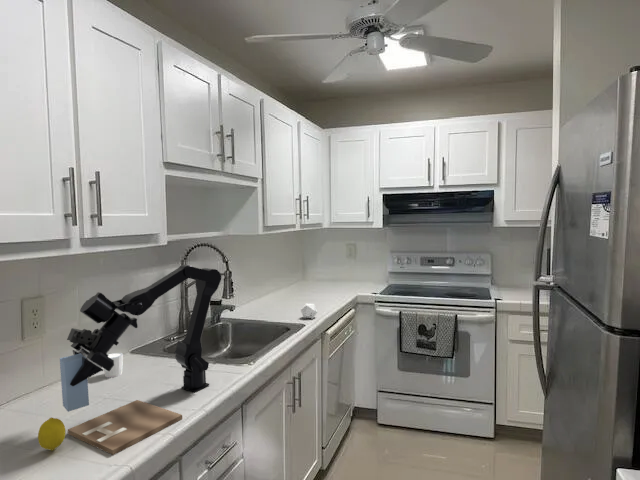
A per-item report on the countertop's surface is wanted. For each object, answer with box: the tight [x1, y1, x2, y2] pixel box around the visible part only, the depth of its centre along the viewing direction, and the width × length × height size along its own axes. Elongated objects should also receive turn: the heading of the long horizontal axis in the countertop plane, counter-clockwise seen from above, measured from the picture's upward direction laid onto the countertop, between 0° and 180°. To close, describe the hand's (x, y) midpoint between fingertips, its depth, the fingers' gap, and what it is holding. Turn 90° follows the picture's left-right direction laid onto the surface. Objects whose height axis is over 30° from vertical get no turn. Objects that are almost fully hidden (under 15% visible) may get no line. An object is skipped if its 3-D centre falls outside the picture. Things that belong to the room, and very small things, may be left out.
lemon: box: [37, 417, 66, 452], centre depth 99 cm, size 6×6×8 cm
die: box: [300, 303, 318, 320], centre depth 228 cm, size 8×9×10 cm
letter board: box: [67, 399, 183, 456], centre depth 110 cm, size 20×20×1 cm
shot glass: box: [103, 352, 124, 378], centre depth 149 cm, size 7×7×7 cm
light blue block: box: [59, 354, 90, 413], centre depth 110 cm, size 5×5×13 cm
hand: (68, 382), depth 109 cm, fingers closed on light blue block, 5 cm apart
